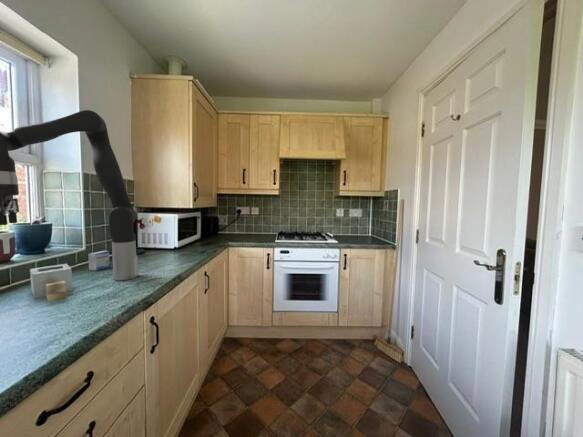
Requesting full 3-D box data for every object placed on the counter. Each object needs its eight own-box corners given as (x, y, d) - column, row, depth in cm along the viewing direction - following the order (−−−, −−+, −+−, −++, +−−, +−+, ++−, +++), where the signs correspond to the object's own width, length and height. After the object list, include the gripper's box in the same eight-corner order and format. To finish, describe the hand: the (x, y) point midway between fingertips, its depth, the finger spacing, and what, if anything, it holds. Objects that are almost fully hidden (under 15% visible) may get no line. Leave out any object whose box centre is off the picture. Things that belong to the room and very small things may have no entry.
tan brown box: (65, 296, 97) (64, 280, 96) (66, 298, 95) (65, 282, 94) (46, 300, 93) (45, 284, 93) (48, 302, 91) (46, 285, 91)
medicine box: (96, 270, 129) (95, 254, 129) (88, 270, 130) (87, 253, 130) (109, 266, 137) (109, 250, 136) (103, 266, 138) (102, 250, 137)
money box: (67, 284, 110) (66, 263, 109) (72, 290, 102) (71, 268, 102) (31, 291, 101) (29, 268, 101) (34, 298, 94) (32, 274, 93)
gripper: (8, 182, 97) (13, 225, 98) (24, 184, 109) (28, 221, 110) (-21, 182, 93) (-15, 226, 94) (-1, 184, 105) (3, 223, 107)
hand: (8, 224), depth 102 cm, fingers open, 8 cm apart
